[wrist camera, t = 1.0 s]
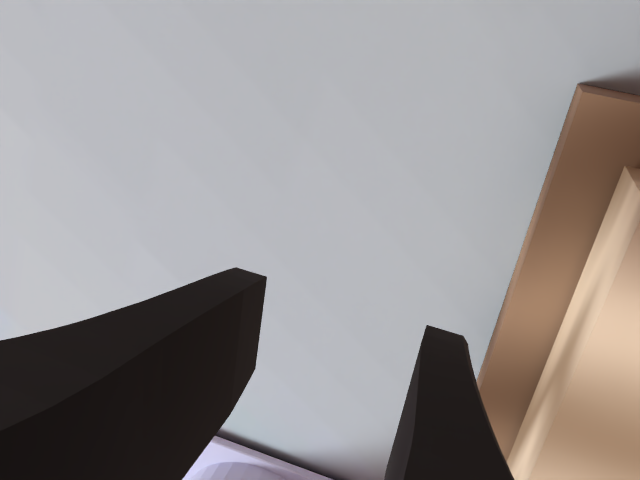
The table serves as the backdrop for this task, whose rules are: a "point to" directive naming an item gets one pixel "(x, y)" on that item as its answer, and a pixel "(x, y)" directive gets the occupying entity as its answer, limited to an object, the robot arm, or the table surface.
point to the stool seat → (557, 250)
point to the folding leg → (593, 364)
